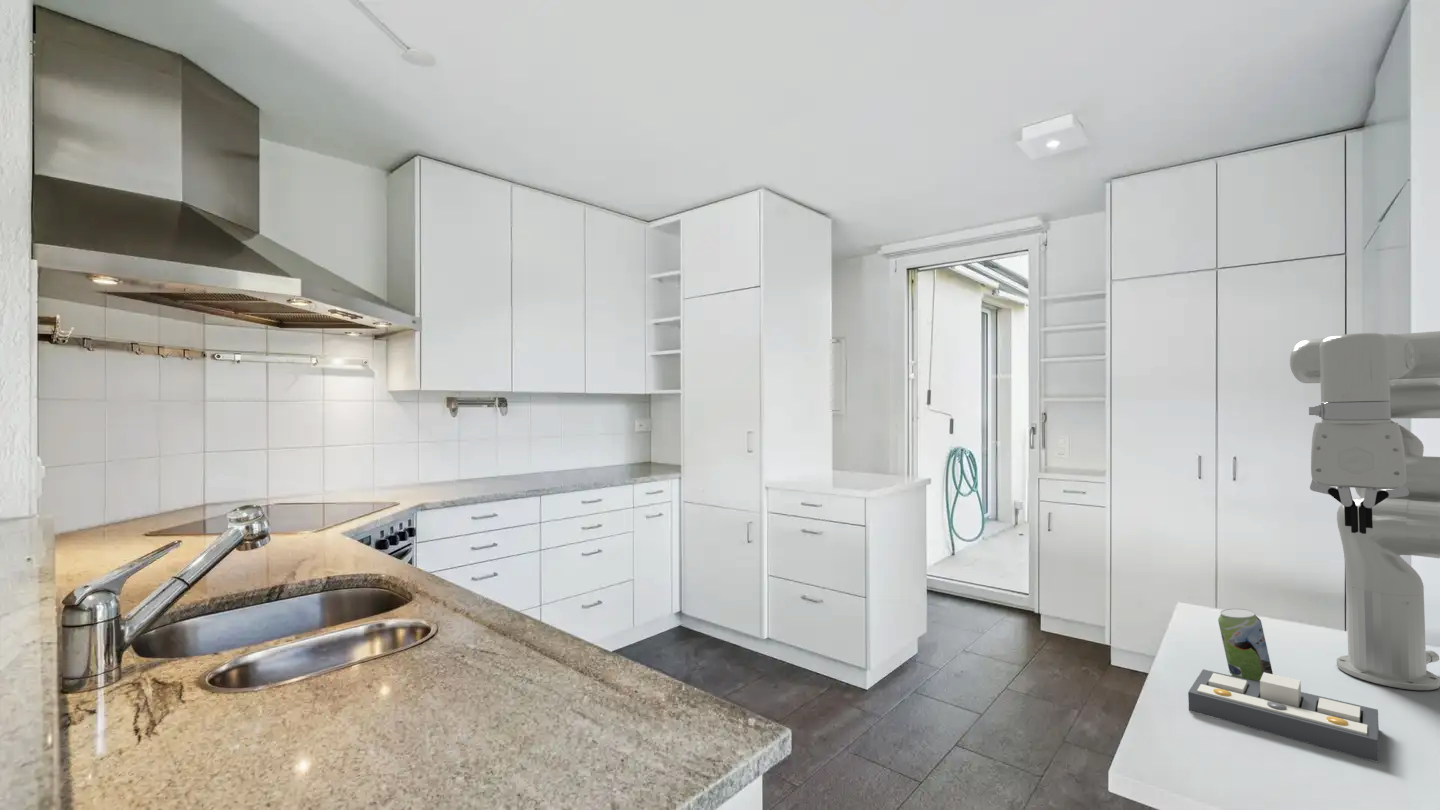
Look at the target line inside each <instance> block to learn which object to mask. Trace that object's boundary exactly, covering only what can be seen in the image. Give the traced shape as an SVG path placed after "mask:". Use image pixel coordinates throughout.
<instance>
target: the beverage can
mask: <svg viewBox="0 0 1440 810" xmlns="http://www.w3.org/2000/svg"><path fill="white" fill-rule="evenodd" d="M1217 621H1218V626H1219V630H1220V631H1219V632H1220V634H1221V640H1222V644H1223V648H1224V653H1225V657H1226V662H1227V667H1228V670H1229V671H1228V672H1229V673H1230V674H1231V676H1235V677H1239V678H1243V679H1248V680H1252V681H1256V682H1260V680H1261V677H1262V675H1263V672H1265V673H1269V674H1274V673H1273V668H1272V664H1271V659H1270V655H1269V651H1268V646H1267V642H1266V638H1265V632H1264V628H1263V623H1262V621H1261V619H1260V618H1259V617H1258V616H1257V615H1256V613H1255V612H1254V611H1252V610H1250V609H1245V608H1244V609H1243V608H1228V609H1223V610H1221V611H1220V615H1219V616H1218V620H1217Z"/></svg>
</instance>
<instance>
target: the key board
mask: <svg viewBox="0 0 1440 810" xmlns="http://www.w3.org/2000/svg"><path fill="white" fill-rule="evenodd" d="M1213 673H1216V674H1220V675H1225V676H1229V677H1233V678H1238V679H1242V680H1246V681H1247V692H1246V694H1242V693H1237V692H1233V691H1229V690H1225V689H1221V688H1217V687H1213V686H1209V682H1208V681H1209V679H1210V678H1211V676H1212V674H1213ZM1187 694H1188V695H1187V696H1188V711H1189V712H1194V713H1197V714H1201V715H1204V716H1208V717H1212V718H1215V719H1219V720H1222V721H1224V722H1225V721H1226V722H1229V723H1233V724H1237V725H1240V726H1244V727H1248V728H1251V729H1255V730H1258V731H1263V732H1266V733H1270V734H1274V735H1276V736H1280V737H1285V738H1289V739H1292V740H1294V741H1299V742H1303V743H1306V744H1308V745H1313V746H1317V747H1321V748H1325V749H1329V750H1331V751H1336V752H1339V753H1342V754H1347V755H1350V756H1354V757H1358V758H1361V759H1364V760H1368V761H1372V762H1375V763H1376V762H1377V763H1379V736H1380V735H1379V731H1380V729H1379V709H1377V708H1373V707H1368V706H1364V705H1359V704H1355V703H1350V702H1347V701H1342V700H1338V699H1333V698H1329V697H1325V696H1321V695H1317V694H1312V693H1308V692H1303V691H1301V702H1300V706H1299V707H1295V706H1291V705H1286V704H1282V703H1278V702H1274V701H1270V700H1266V699H1262V698H1260V682H1256V681H1252V680H1248V679H1243V678H1239V677H1236V676H1234V675H1230V674H1226V673H1220V672H1217V671H1212V670H1208V669H1204V668H1203V669H1202V670H1201V672H1199V675H1198V676H1197V677H1196V679H1195V681H1193V684H1192V685H1191V686H1190V689H1189V690H1188V693H1187ZM1319 698H1324V699H1328V700H1332V701H1337V702H1341V703H1345V704H1350V705H1354V706H1358V707H1360V715H1361V723H1360V722H1356V721H1352V720H1348V719H1344V718H1339V717H1335V716H1331V715H1327V714H1323V713H1319V712H1318V710H1317V707H1318V702H1319Z"/></svg>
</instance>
